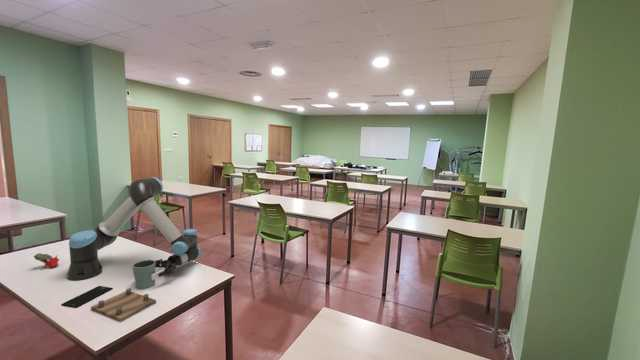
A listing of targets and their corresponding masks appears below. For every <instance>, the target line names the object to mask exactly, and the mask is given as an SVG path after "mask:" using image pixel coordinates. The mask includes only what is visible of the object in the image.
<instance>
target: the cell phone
mask: <svg viewBox="0 0 640 360" xmlns="http://www.w3.org/2000/svg"><path fill="white" fill-rule="evenodd" d="M113 289H114V288H113V287H109V286H104V285H98V286H96V287H94V288H91V289H89V290H87V291H85V292H83V293H82V294H79V295H77V296H75V297H74V298H71V299H69V300H66V301H65V302H63V303H61V304H60V305H61V307H67V308H72V309H78V308H80V307H81V306H84V305H85V304H88V303H90V302H91V301H94V300H96V299H97V298H99V297H101V296H103V295H105V294H106V293H108V292H111V291H112V290H113Z"/></svg>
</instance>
